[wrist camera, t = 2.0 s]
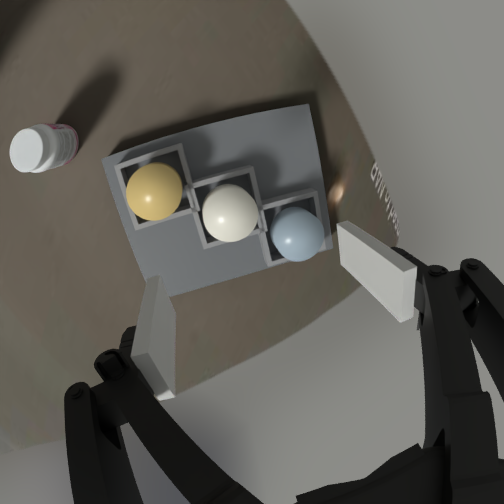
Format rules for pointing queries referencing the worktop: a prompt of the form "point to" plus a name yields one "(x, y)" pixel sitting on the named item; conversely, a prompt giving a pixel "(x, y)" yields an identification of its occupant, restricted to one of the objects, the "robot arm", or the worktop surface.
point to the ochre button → (154, 191)
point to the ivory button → (229, 213)
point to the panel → (215, 174)
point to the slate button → (297, 233)
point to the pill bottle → (43, 147)
